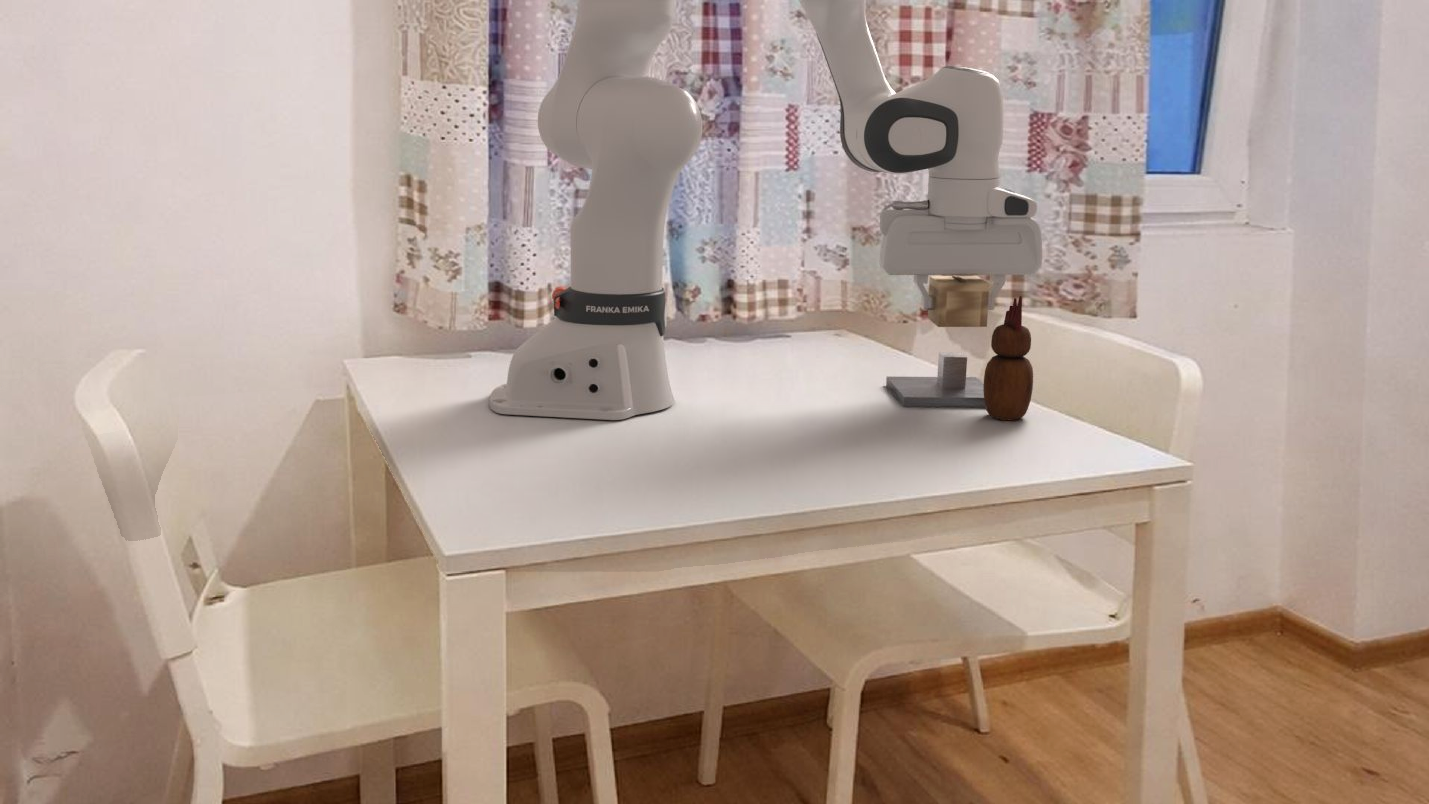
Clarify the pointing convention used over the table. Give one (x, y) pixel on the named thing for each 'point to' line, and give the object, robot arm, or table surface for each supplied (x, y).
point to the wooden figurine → (1009, 368)
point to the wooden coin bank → (959, 301)
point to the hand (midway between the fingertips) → (957, 309)
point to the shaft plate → (940, 386)
